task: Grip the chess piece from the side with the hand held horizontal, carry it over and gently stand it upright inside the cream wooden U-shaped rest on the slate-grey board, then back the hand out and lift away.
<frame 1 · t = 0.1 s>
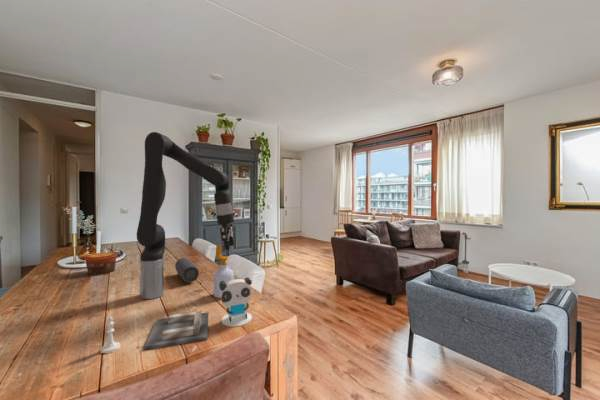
hand: (229, 247, 121), 22 cm above the table, tool pointing down, fingers open, 8 cm apart
soap bottle: (224, 295, 122), on the table
bluetooth speaker: (186, 279, 144), on the table
food container: (101, 272, 156), on the table
panda figurine: (236, 319, 98), on the table
u rest: (180, 330, 90), on the table
chess piece: (110, 349, 79), on the table
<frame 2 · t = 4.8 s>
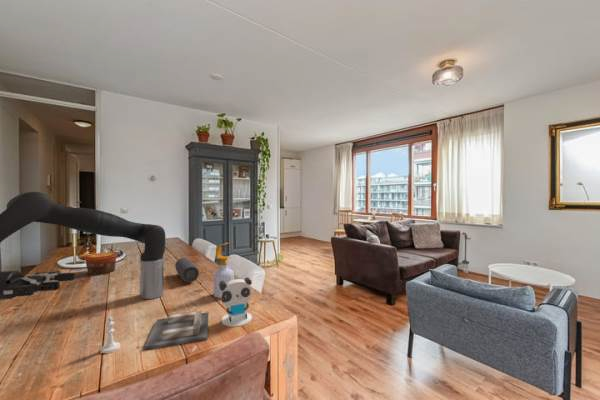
hand: (67, 280, 75), 22 cm above the table, tool horizontal, fingers open, 8 cm apart
nothing on the table moved.
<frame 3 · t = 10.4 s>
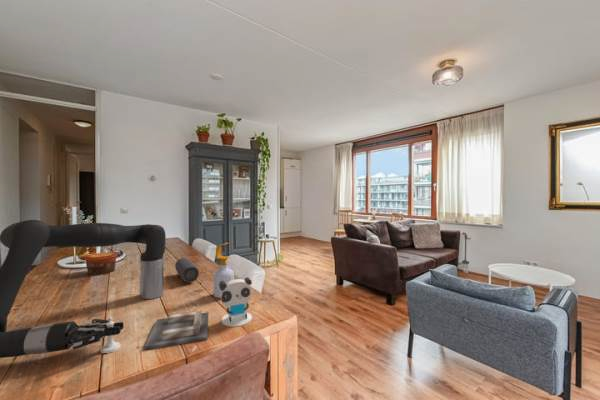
hand: (121, 327, 80), 6 cm above the table, tool horizontal, fingers closed on chess piece
chess piece: (110, 349, 79), on the table, touching gripper
everything else where it was.
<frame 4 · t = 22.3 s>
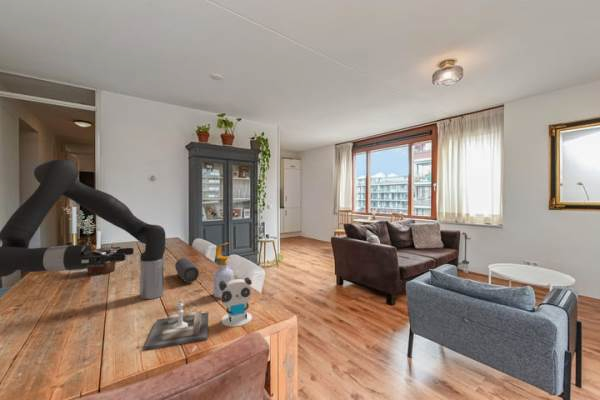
hand: (129, 253, 84), 28 cm above the table, tool horizontal, fingers open, 8 cm apart
chess piece: (180, 328, 90), point 1 cm above the table, touching u rest
everything else where it was.
at the end: chess piece 0.1 cm off-centre on the u rest, point 0.8 cm above the u rest's base; chess piece tilted 1°; the gripper is holding nothing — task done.
